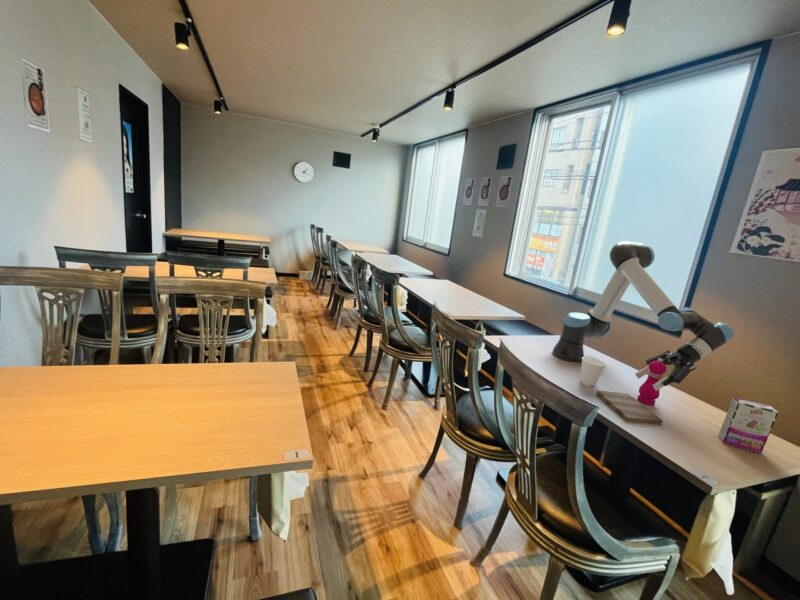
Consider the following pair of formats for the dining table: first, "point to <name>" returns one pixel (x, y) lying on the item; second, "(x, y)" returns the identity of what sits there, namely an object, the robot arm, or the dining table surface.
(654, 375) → the pepper mill
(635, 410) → the serving board
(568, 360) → the robot arm
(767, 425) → the candy bar box
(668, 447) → the dining table surface
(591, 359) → the cup
